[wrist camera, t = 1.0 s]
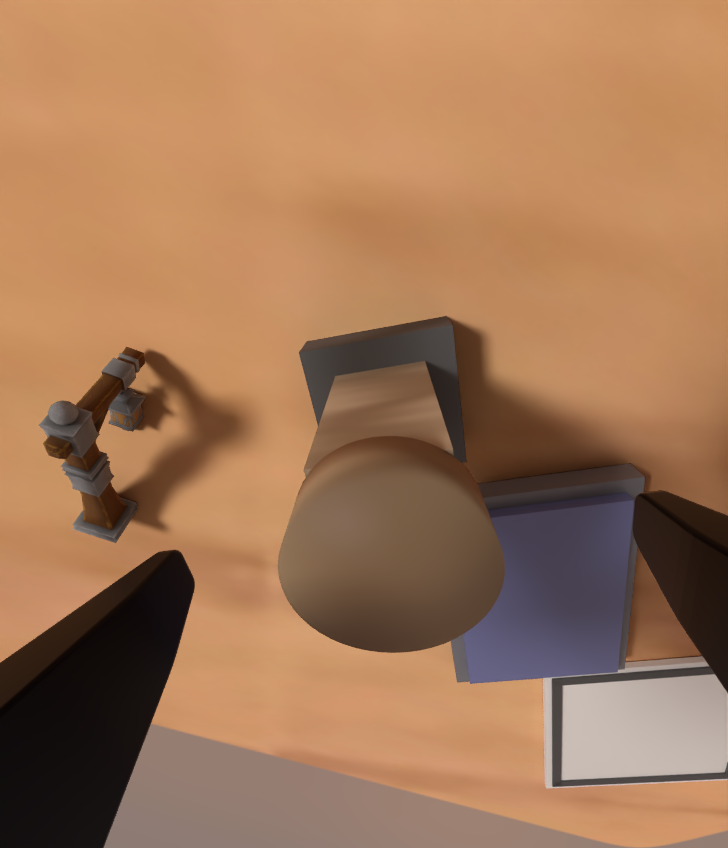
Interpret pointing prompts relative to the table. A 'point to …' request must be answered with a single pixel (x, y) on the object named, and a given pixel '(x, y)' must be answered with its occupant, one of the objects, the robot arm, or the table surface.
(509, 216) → the table surface
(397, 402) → the stamp
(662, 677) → the marked card
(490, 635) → the ink pad
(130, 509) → the wooden post with brackets
